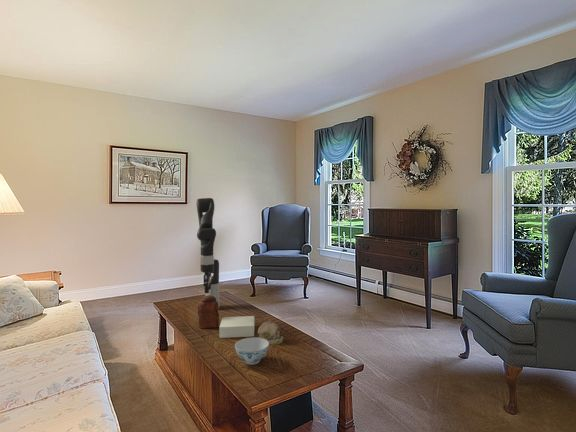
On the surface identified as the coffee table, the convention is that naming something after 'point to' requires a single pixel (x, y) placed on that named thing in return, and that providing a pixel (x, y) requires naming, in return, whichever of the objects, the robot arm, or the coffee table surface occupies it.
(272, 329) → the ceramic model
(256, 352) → the chinaware
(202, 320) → the wooden figurine
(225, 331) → the cream white square block
